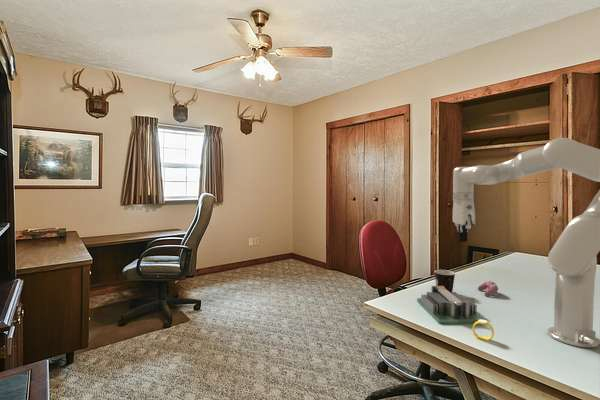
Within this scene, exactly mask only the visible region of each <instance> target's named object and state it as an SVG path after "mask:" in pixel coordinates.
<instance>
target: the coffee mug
mask: <svg viewBox="0 0 600 400" xmlns="http://www.w3.org/2000/svg"><path fill="white" fill-rule="evenodd" d="M455 276H456V272H454V271H452V270H447V269H437V270H434V278H435V279H434V280H435V286H444V287H445V288H446V290H448V291H449V292H454V290H453V289H454V283H455Z"/></svg>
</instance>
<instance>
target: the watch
mask: <svg viewBox="0 0 600 400" xmlns="http://www.w3.org/2000/svg"><path fill="white" fill-rule="evenodd" d="M478 323H479V324H478ZM476 325H484V326H485V325H486V326H488V328H490V330H491V332H492V334H491V335H490V336H489V337H485V336H480V335H478V333H477V332H476V331H475V327H476ZM471 329H472V330H471V331H472V333H473V335H474V336H475V337H476V338H477V339H480V340H484V341H490V340H492V339H493V337H494V335H495V331H494V327H493V326H492V325H491V324H490V323H489V321H488V320H487V319H486V320H482V319H480V320H478V321H477V322H475V323H474V324H472V328H471Z"/></svg>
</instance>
